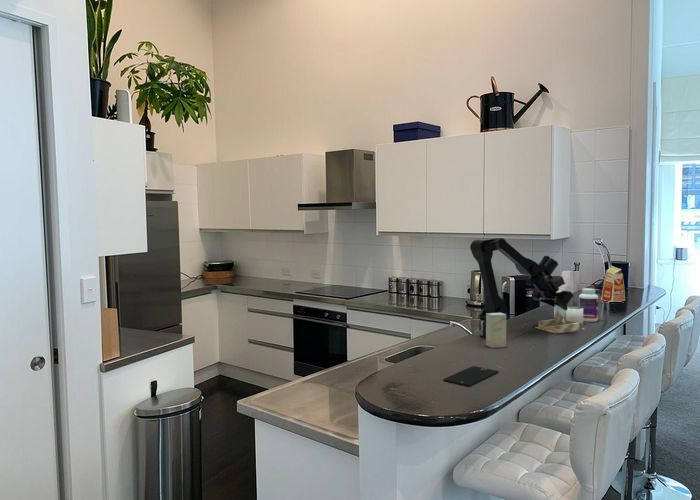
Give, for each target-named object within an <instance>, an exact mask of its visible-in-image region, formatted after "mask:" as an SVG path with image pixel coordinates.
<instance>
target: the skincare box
mask: <svg viewBox="0 0 700 500" xmlns="http://www.w3.org/2000/svg"><path fill="white" fill-rule="evenodd" d="M485 346H487V347H489V348H490V349H491V348H505V347H507V313H506V314H503V313H486V338H485Z"/></svg>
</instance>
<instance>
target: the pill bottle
mask: <svg viewBox="0 0 700 500" xmlns="http://www.w3.org/2000/svg"><path fill="white" fill-rule="evenodd" d="M578 307H581V308H583V322H589V323H591V322H594V323H595V322H597V321H598V320H599V295H597V294H596V289H595V288H589V287H588V288H586V287H585V288H581V293H580V294H579V296H578Z"/></svg>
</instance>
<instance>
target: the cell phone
mask: <svg viewBox="0 0 700 500" xmlns="http://www.w3.org/2000/svg"><path fill="white" fill-rule="evenodd" d="M499 372H500V371H499V370H496V369H491V368H486V367H481V366H477V365H476V366H475V365H473V366H470V367H467V368H465V369H463V370H460V371H458V372H456V373H453V374H451V375H450V376H447V377H445V378H443V379H442V381H443V382H445V383H450V384H454V385H458V386H459V385H460V386H462V387H468V388H469V387H473V386H475V385H477V384H478V383H481V382H483V381H485V380H487V379H489V378H491V377H493V376H495V375H497V374H499Z"/></svg>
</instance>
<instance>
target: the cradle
mask: <svg viewBox="0 0 700 500" xmlns="http://www.w3.org/2000/svg"><path fill="white" fill-rule="evenodd" d="M534 328H535V329H536V328H537V330H541V331H544V332H548V333H552V334H561V333H563V334H564V333H571V332H578V331H579V332H580V331H585V328H584V327H583V325H582V323H579V322H575V321H570V320H566V324H563V325H554V318H553V319H552V318H551V319H544V320H542V319H541V320H538V326H535V327H534Z"/></svg>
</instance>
